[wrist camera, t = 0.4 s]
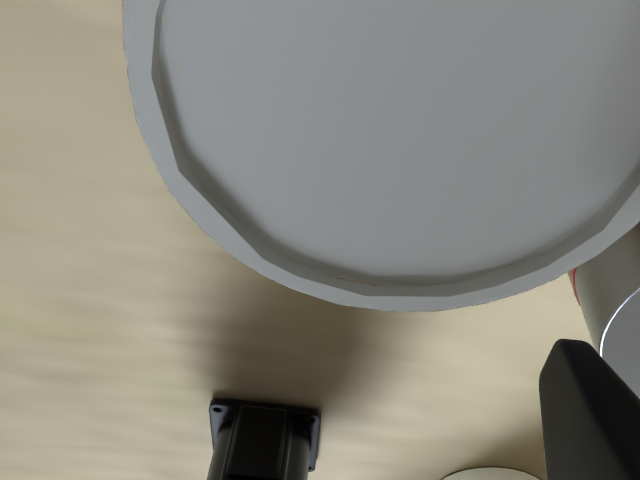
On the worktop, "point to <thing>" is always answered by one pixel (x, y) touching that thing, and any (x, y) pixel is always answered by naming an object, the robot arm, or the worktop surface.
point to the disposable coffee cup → (395, 138)
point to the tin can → (613, 304)
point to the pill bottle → (490, 474)
